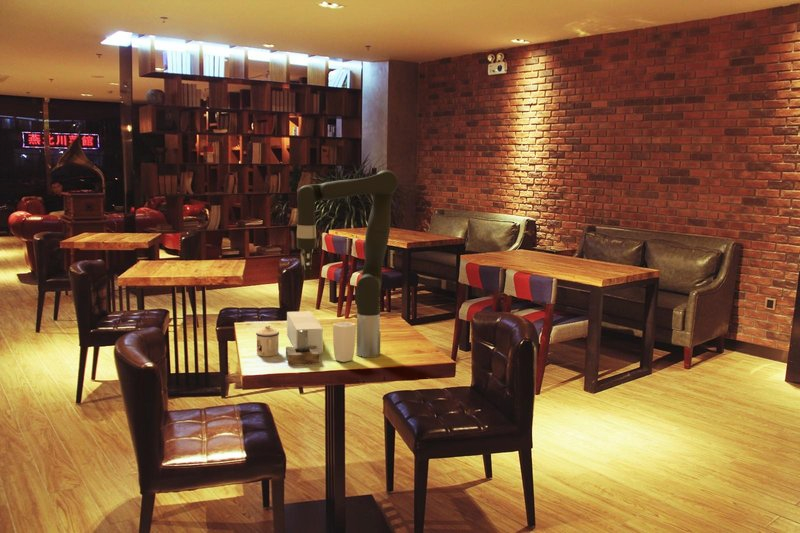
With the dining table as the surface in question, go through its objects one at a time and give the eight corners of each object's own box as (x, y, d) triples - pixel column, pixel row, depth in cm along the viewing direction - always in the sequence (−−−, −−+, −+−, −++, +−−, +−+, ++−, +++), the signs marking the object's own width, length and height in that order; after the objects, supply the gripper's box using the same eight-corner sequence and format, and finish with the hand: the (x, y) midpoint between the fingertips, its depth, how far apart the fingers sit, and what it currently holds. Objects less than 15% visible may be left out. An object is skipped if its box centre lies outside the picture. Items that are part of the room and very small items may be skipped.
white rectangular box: (322, 354, 286) (322, 328, 284) (296, 355, 283) (296, 329, 281) (310, 334, 316) (310, 311, 315) (287, 335, 313) (287, 311, 312)
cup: (330, 360, 277) (331, 323, 275) (345, 356, 282) (345, 320, 280) (342, 364, 272) (343, 327, 270) (356, 360, 277) (357, 324, 275)
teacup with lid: (254, 351, 286) (254, 323, 284) (277, 349, 289) (277, 322, 287) (258, 359, 275) (258, 330, 273) (282, 358, 278) (282, 329, 276)
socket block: (315, 355, 283) (315, 345, 283) (319, 363, 272) (319, 353, 271) (285, 356, 280) (285, 346, 280) (288, 365, 269) (288, 355, 268)
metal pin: (306, 358, 278) (307, 329, 276) (308, 361, 275) (308, 331, 273) (296, 358, 277) (296, 329, 276) (297, 361, 274) (298, 332, 272)
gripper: (318, 238, 270) (317, 280, 272) (313, 234, 283) (313, 273, 286) (298, 238, 268) (298, 280, 270) (295, 234, 281) (294, 274, 284)
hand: (306, 276), depth 278 cm, fingers open, 8 cm apart
